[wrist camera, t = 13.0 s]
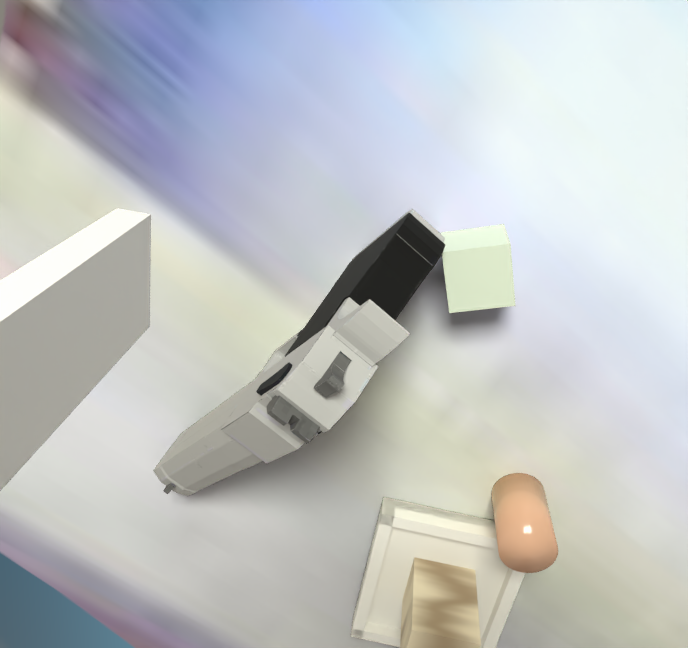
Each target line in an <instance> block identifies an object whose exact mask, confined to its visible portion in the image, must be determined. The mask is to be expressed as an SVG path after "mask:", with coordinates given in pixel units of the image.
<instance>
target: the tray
mask: <svg viewBox="0 0 688 648" xmlns="http://www.w3.org/2000/svg"><path fill="white" fill-rule="evenodd" d="M414 557H416V558H420V559H425V560H430V561H435V562H440V563H444V564H449V565H454V566H459V567H464V568H469V569H473V570H475V574H476V587H477V600H478V613H479V626H480V639H481V646H480V648H496V645H497V643H498V640H499V638H500V635H501V633H502V630H503V628H504V625H505V623H506V620H507V618H508V615H509V613H510V610H511V608H512V605H513V603H514V600H515V598H516V595H517V593H518V590H519V588H520V586H521V583H522V581H523V578H524V576H525V573H523V572H518V571H515V570H512V569H510V568H509V567H507V566H506V565H505V564H504V563H503V562H502V560H501V559H500V557H499V552H498V544H497V536H496V527H495V521H493V520H488V519H484V518H479V517H475V516H470V515H465V514H461V513H456V512H451V511H447V510H442V509H437V508H433V507H428V506H424V505H419V504H414V503H410V502H405V501H400V500H396V499H391V498H386V497H383V500H382V504H381V508H380V512H379V516H378V520H377V524H376V528H375V532H374V536H373V540H372V544H371V548H370V552H369V556H368V560H367V564H366V568H365V572H364V576H363V580H362V584H361V588H360V592H359V596H358V600H357V604H356V607H355V611H354V615H353V621H352V629H351V637H356V638H360V639H364V640H369V641H373V642H378V643H382V644H387V645H391V646H396V647H400V639H401V619H402V600H403V596H404V593H405V589H406V586H407V582H408V578H409V575H410V571H411V567H412V564H413V560H414Z"/></svg>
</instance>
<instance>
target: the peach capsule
mask: <svg viewBox="0 0 688 648" xmlns="http://www.w3.org/2000/svg"><path fill="white" fill-rule="evenodd" d="M492 503H493V511H494V519H495V527H496V536H497V544H498V552H499V557H500V559H501V560H502V562H503V563H504V564H505V565H506V566H507V567H509V568H510V569H512V570H515V571H518V572H523V573H534V572H539V571H542V570H544V569H546V568H548V567H549V566H551V565H552V564H553V563H554V561H555V560H556V558H557V555H558V546H557V542H556V538H555V534H554V529H553V525H552V521H551V516H550V512H549V508H548V503H547V499H546V495H545V491H544V487H543V485H542V484H541V482H540V481H539V480H538V479H536V478H535V477H533V476H531V475H528V474H523V473H514V474H509V475H506V476H504V477H502V478H501V479H499V480H498V481H497V482H496V483H495V485H494V486H493V488H492Z"/></svg>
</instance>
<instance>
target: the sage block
mask: <svg viewBox="0 0 688 648" xmlns="http://www.w3.org/2000/svg"><path fill="white" fill-rule="evenodd" d="M441 235H442V236H443V237H445V240H444V242H443V243H444V244H445V248H444V251H443V253H442V259H443V267H444V275H445V283H446V291H447V299H448V307H449V313H455V312H464V311H473V310H482V309H491V308H499V307H508V306H515V295H514V283H513V270H512V258H511V245H510V241H509V238H508V235H507V232H506V229H505V226H504V224H500V225H493V226H485V227H478V228H471V229H463V230H456V231H448V232H441Z"/></svg>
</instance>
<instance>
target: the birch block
mask: <svg viewBox="0 0 688 648" xmlns="http://www.w3.org/2000/svg"><path fill="white" fill-rule="evenodd" d="M480 646H481V639H480V626H479V613H478V600H477V587H476V574H475V570H473V569H469V568H464V567H459V566H454V565H449V564H444V563H440V562H435V561H430V560H425V559H420V558H416V557H414V560H413V564H412V567H411V571H410V575H409V578H408V582H407V586H406V589H405V593H404V596H403V600H402V619H401V639H400V648H480Z"/></svg>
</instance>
